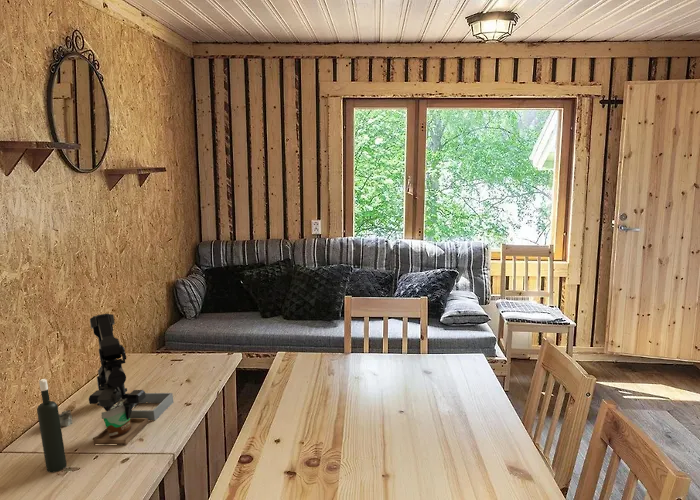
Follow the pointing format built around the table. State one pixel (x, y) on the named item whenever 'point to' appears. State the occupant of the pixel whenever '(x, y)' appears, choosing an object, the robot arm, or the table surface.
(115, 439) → the tray
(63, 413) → the egg carton
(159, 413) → the tub
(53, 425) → the wine bottle
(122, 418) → the food container
